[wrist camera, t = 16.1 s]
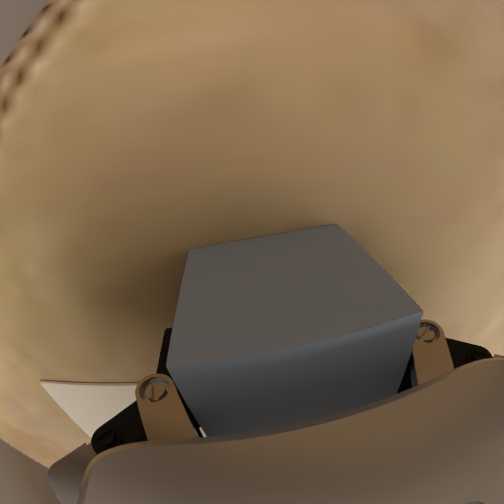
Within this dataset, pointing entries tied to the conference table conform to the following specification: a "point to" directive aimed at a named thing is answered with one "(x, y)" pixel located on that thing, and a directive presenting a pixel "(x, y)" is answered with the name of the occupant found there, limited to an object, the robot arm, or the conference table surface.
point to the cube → (287, 331)
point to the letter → (92, 401)
